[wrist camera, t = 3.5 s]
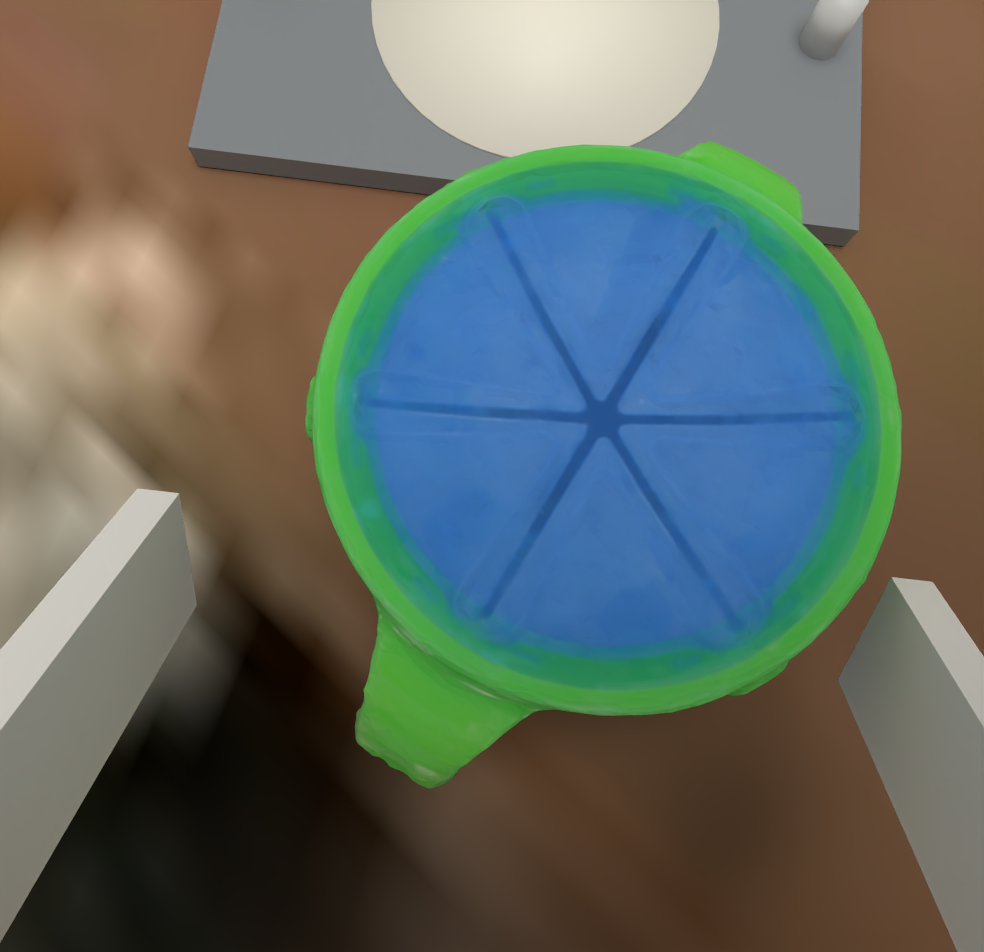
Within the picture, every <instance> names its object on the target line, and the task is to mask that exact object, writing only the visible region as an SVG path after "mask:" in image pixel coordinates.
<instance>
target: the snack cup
mask: <svg viewBox="0 0 984 952" xmlns="http://www.w3.org/2000/svg"><path fill="white" fill-rule="evenodd" d="M306 407H307V414H306V420H305V427H306V433H307V435H308V437H309V439H310V440H311V441H312V442H313V448H314V457H315V466H316V472H317V476H318V480H319V484H320V487H321V491H322V495H323V499H324V503H325V506H326V508H327V511H328V513H329V516H330V519H331V521H332V523H333V526H334V528H335V530H336V532H337V535H338V537H339V539H340V541H341V543H342V545H343V547H344V549H345V551H346V553H347V555H348V557H349V559H350V561H351V563H352V565H353V566H354V568H355V570H356V571H357V573H358V574H359V576H360V577H361V579H362V580H363V582H364V583H365V585H366V586H367V587H368V589H369V590H370V592H371V594H372V596H373V598H374V601H375V604H376V608H377V612H378V627H377V638H376V642H375V648H374V651H373V654H372V658H371V664H370V671H369V676H368V680H367V683H366V685H365V688H364V690H363V691H364V702H363V705H362V707H361V708H360V709H359V710H358V712H357V715H356V717H357V718H356V723H355V732H356V741H357V743H358V744H359V745H360V746H361V747H363V748H364V749H365V750H366V751H367V752H369V753H370V754H371V755H373V756H378V757H380V758H382V759H383V760H385V761H386V762H387V763H388V765H389V766H390V767H392V768H395V769H397V770H400V771H402V772H403V773H405V774H406V775H408V776H409V777H410V779H412V780H413V781H414V782H416V783H417V784H419V785H421V786H424V787H426V788H429V789H431V788H437V787H439V786H441V785H444V784H445V783H447V782H448V781H449V780H452V778H453V777H454V776H455V775H456V773H457V771H458V770H459V769H460V768H461V767H463V766H465V765H466V764H467V763H469V762H470V761H471V760H472V759H474V758H475V757H476V756H477V755H479V754H480V753H481V752H483V751H484V750H485V749H487V748H488V747H489V746H491V745H492V744H493V743H494V742H495V741H496V740H497V739H498V738H500V737H501V736H502V735H503V734H505V733H506V732H507V731H508V730H510V729H511V728H512V727H514V726H515V725H516V724H518V723H519V722H520V721H521V720H523V719H524V718H526V717H528V716H529V715H530V714H532V713H534V712H536V711H542V710H561V711H567V712H576V713H584V714H591V715H599V716H616V715H648V714H660V713H672V712H676V711H680V710H684V709H688V708H691V707H695V706H699V705H702V704H705V703H708V702H710V701H713V700H716V699H719V698H721V697H723V696H725V695H729V696H738V695H744V694H747V693H749V692H750V691H752V690H754V689H756V688H757V687H759V686H761V685H763V684H765V683H767V682H768V681H770V680H771V679H772V678H774V677H776V676H777V675H778V674H780V673H781V672H782V671H783V670H784V669H785V668H786V667H787V663H788V661H789V660H791V659H792V658H794V657H795V656H796V655H797V654H799V653H800V652H801V651H802V650H804V649H805V648H806V647H807V646H808V645H810V644H811V643H812V642H813V641H814V640H815V639H816V638H817V637H818V636H819V635H820V634H821V633H822V632H823V631H824V630H826V628H827V627H828V626H829V625H830V624H831V623H832V621H833V620H834V619H835V618H836V617H837V616H838V615H839V613H840V612H841V611H842V610H843V609H844V608H845V607H846V606H847V605H848V603H849V602H850V600H851V599H852V597H853V596H854V594H855V593H856V592H857V590H858V589H859V588H860V587H861V585H862V584H863V583H864V582H865V581H866V578H867V575H868V573H869V571H870V569H871V568H872V566H873V564H874V561H875V559H876V556H877V554H878V551H879V549H880V547H881V544H882V542H883V539H884V537H885V534H886V531H887V529H888V526H889V523H890V519H891V515H892V511H893V507H894V503H895V498H896V492H897V487H898V482H899V477H900V469H901V430H902V421H901V417H902V412H901V410H900V408H899V402H898V396H897V388H896V383H895V380H894V377H893V372H892V367H891V363H890V359H889V356H888V354H887V351H886V348H885V345H884V342H883V339H882V336H881V334H880V333H879V331H878V329H877V326H876V322H875V319H874V317H873V315H872V313H871V311H870V309H869V308H868V306H867V304H866V303H865V301H864V299H863V298H862V296H861V294H860V293H859V291H858V289H857V288H856V286H855V285H854V283H853V281H852V280H851V279H850V277H849V276H848V275H847V273H846V272H845V271H844V269H843V268H842V267H841V265H840V264H839V263H838V261H837V260H836V259H835V258H834V256H833V255H832V254H831V253H830V252H829V251H828V249H827V248H826V247H825V246H824V245H823V244H822V242H820V241H819V240H818V239H817V238H816V237H815V236H814V235H813V234H812V233H811V232H810V231H809V230H808V229H807V228H806V227H805V226H804V225H803V224H802V202H801V195H800V194H799V190H797V187H796V186H794V185H793V184H792V183H790V182H789V181H788V180H787V179H785V178H784V177H782V176H780V175H779V174H777V173H775V172H774V171H772V170H771V169H769V168H767V167H766V166H764V165H762V164H760V163H759V162H757V161H755V160H753V159H751V158H749V157H747V156H745V155H743V154H741V153H739V152H737V151H735V150H733V149H730V148H728V147H725V146H723V145H720V144H718V143H715V142H712V141H708V142H706V143H701V144H698V145H696V146H694V147H693V148H691V149H689V150H687V151H685V152H683V153H682V154H680V155H678V156H674V155H671V154H667V153H663V152H658V151H654V150H648V149H641V148H635V147H629V146H615V145H584V144H583V145H573V146H563V147H556V148H550V149H543V150H536V151H532V152H528V153H524V154H521V155H518V156H514V157H510V158H505V159H501V160H499V161H497V162H495V163H492V164H489V165H486V166H483V167H481V168H478V169H473V170H471V171H468V172H466V173H465V174H463V175H461V176H460V177H458V178H456V179H455V180H454V181H452V182H451V183H448V184H446V185H445V186H444V187H443V188H441V189H440V190H438V191H436V192H435V193H433V194H432V195H430V196H428V197H427V198H425V199H424V200H423V201H421V202H420V203H418V204H417V205H416V206H415V207H414V208H412V209H411V210H410V211H409V212H408V213H407V214H405V215H404V216H403V217H402V218H401V219H400V220H399V221H397V222H396V223H395V224H394V225H393V226H392V227H391V228H390V229H388V230H387V231H386V233H385V234H384V235H383V236H382V237H381V238H380V240H379V241H378V242H377V243H376V245H375V246H374V247H373V248H372V249H371V250H370V252H369V253H368V254H367V255H366V256H365V258H364V259H363V261H362V262H361V263H360V265H359V267H358V268H357V270H356V272H355V274H354V275H353V277H352V279H351V280H350V282H349V283H348V285H347V286H346V288H345V290H344V292H343V294H342V296H341V298H340V301H339V303H338V305H337V308H336V310H335V312H334V314H333V316H332V319H331V321H330V324H329V327H328V329H327V333H326V336H325V339H324V342H323V346H322V350H321V354H320V358H319V363H318V367H317V373H316V376H315V377H313V379H312V380H311V382H310V389H309V392H308V395H307V402H306Z"/></svg>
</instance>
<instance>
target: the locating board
mask: <svg viewBox="0 0 984 952" xmlns="http://www.w3.org/2000/svg"><path fill="white" fill-rule="evenodd" d="M868 2H869V0H222V5H221V9H220V13H219V17H218V22H217V26H216V30H215V34H214V39H213V43H212V47H211V51H210V55H209V60H208V64H207V68H206V72H205V77H204V81H203V85H202V89H201V94H200V98H199V102H198V106H197V110H196V115H195V119H194V123H193V127H192V132H191V136H190V140H189V144H188V148H189V150H190V151H191V153H192V155H193V157H194V158H195V160H196V162H197V163H198V165H199V166H202V167H210V168H218V169H226V170H234V171H243V172H251V173H259V174H267V175H275V176H283V177H291V178H299V179H307V180H315V181H323V182H331V183H339V184H347V185H355V186H363V187H371V188H379V189H387V190H395V191H403V192H411V193H419V194H427V195H432V194H433V193H435V192H436V191H438V190H440V189H441V188H443V187H444V186H445V185H446V184H448V183H451V182H452V181H454V180H455V179H456V178H458V177H460V176H461V175H463V174H465V173H466V172H468V171H471V170H473V169H478V168H481V167H483V166H486V165H489V164H492V163H495V162H497V161H499V160H501V159H505V158H510V157H514V156H518V155H521V154H524V153H528V152H532V151H536V150H543V149H550V148H556V147H563V146H573V145H583V144H584V145H615V146H629V147H635V148H641V149H648V150H654V151H658V152H663V153H667V154H671V155H674V156H678V155H680V154H682V153H683V152H685V151H687V150H689V149H691V148H693V147H694V146H696V145H698V144H701V143H706V142H708V141H712V142H715V143H718V144H720V145H723V146H725V147H728V148H730V149H733V150H735V151H737V152H739V153H741V154H743V155H745V156H747V157H749V158H751V159H753V160H755V161H757V162H759V163H760V164H762V165H764V166H766V167H767V168H769V169H771V170H772V171H774V172H775V173H777V174H779V175H780V176H782V177H784V178H785V179H787V180H788V181H789V182H790V183H792V184H793V185H794V186H796V187H797V190H799V194H800V195H801V202H802V224H803V225H804V226H805V227H806V228H807V229H808V230H809V231H810V232H811V233H812V234H813V235H814V236H815V237H816V238H817V239H818V240H819V241H820V242H822V244H829V245H837V246H844V245H845V244H846V243H847V242H848V241H849V240H850V239H851V238H852V237H853V236H854V235H855V234H856V233H857V232H858V231H859V203H860V142H861V81H862V20H863V10H864V9H865V7H866V5H867V4H868Z"/></svg>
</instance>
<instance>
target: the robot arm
mask: <svg viewBox="0 0 984 952" xmlns="http://www.w3.org/2000/svg"><path fill="white" fill-rule="evenodd" d="M196 606H197V603H196V597H195V590H194V584H193V578H192V571H191V565H190V559H189V552H188V546H187V540H186V533H185V527H184V521H183V514H182V508H181V502H180V496H179V493H171V492H163V491H154V490H146V489H137V490H136V491H135V492H134V493H133V494H132V495H131V497H130V498H129V499H128V500H127V501H126V503H125V504H124V505H123V506H122V507H121V508H120V510H119V511H118V512H117V513H116V514H115V516H114V517H113V518H112V519H111V520H110V521H109V523H108V524H107V525H106V526H105V527H104V528H103V530H102V531H101V532H100V533H99V534H98V536H97V537H96V538H95V539H94V540H93V541H92V543H91V544H90V545H89V546H88V547H87V548H86V550H85V551H84V552H83V553H82V554H81V556H80V557H79V558H78V559H77V560H76V561H75V563H74V564H73V565H72V566H71V567H70V568H69V570H68V571H67V572H66V573H65V574H64V576H63V577H62V578H61V579H60V580H59V581H58V583H57V584H56V585H55V586H54V587H53V588H52V590H51V591H50V592H49V593H48V594H47V596H46V597H45V598H44V599H43V600H42V601H41V603H40V604H39V605H38V606H37V607H36V608H35V610H34V611H33V612H32V613H31V614H30V616H29V617H28V618H27V619H26V620H25V621H24V623H23V624H22V625H21V626H20V627H19V628H18V630H17V631H16V632H15V633H14V634H13V636H12V637H11V638H10V639H9V640H8V641H7V643H6V644H5V645H4V646H3V647H2V648H1V650H0V942H1V940H2V939H3V937H4V935H5V934H6V932H7V930H8V928H9V927H10V925H11V923H12V921H13V920H14V918H15V916H16V915H17V913H18V911H19V909H20V908H21V906H22V904H23V903H24V901H25V899H26V897H27V896H28V894H29V892H30V891H31V889H32V887H33V885H34V884H35V882H36V880H37V879H38V877H39V875H40V873H41V872H42V870H43V868H44V867H45V865H46V863H47V861H48V860H49V858H50V856H51V855H52V853H53V851H54V849H55V848H56V846H57V844H58V843H59V841H60V839H61V837H62V836H63V834H64V832H65V831H66V829H67V827H68V825H69V824H70V822H71V820H72V819H73V817H74V815H75V813H76V812H77V810H78V808H79V807H80V805H81V803H82V801H83V800H84V798H85V796H86V795H87V793H88V791H89V789H90V788H91V786H92V784H93V783H94V781H95V779H96V777H97V776H98V774H99V772H100V771H101V769H102V767H103V765H104V764H105V762H106V760H107V759H108V757H109V755H110V753H111V752H112V750H113V748H114V747H115V745H116V743H117V741H118V740H119V738H120V736H121V735H122V733H123V731H124V729H125V728H126V726H127V724H128V722H129V721H130V719H131V717H132V716H133V714H134V712H135V710H136V709H137V707H138V705H139V704H140V702H141V700H142V698H143V697H144V695H145V693H146V692H147V690H148V688H149V686H150V685H151V683H152V681H153V680H154V678H155V676H156V674H157V673H158V671H159V669H160V668H161V666H162V664H163V662H164V661H165V659H166V657H167V656H168V654H169V652H170V650H171V649H172V647H173V645H174V644H175V642H176V640H177V638H178V637H179V635H180V633H181V632H182V630H183V628H184V626H185V625H186V623H187V621H188V620H189V618H190V616H191V614H192V613H193V611H194V609H195V608H196ZM838 682H839V684H840V686H841V689H842V691H843V693H844V695H845V698H846V700H847V702H848V705H849V707H850V709H851V711H852V714H853V716H854V718H855V720H856V723H857V725H858V727H859V730H860V732H861V734H862V736H863V739H864V741H865V743H866V745H867V748H868V750H869V752H870V755H871V757H872V759H873V761H874V764H875V766H876V768H877V770H878V773H879V775H880V777H881V780H882V782H883V784H884V786H885V789H886V791H887V793H888V795H889V798H890V800H891V802H892V805H893V807H894V809H895V811H896V814H897V816H898V818H899V820H900V823H901V825H902V827H903V830H904V832H905V834H906V836H907V839H908V841H909V843H910V845H911V848H912V850H913V852H914V855H915V857H916V859H917V861H918V864H919V866H920V868H921V870H922V873H923V875H924V877H925V880H926V882H927V884H928V886H929V889H930V891H931V893H932V895H933V898H934V900H935V902H936V905H937V907H938V909H939V911H940V914H941V916H942V918H943V920H944V923H945V925H946V927H947V930H948V932H949V934H950V936H951V939H952V941H953V943H954V945H955V948H956V950H957V952H984V656H983V655H982V654H981V652H980V651H979V649H978V648H977V646H976V645H975V643H974V642H973V640H972V639H971V637H970V636H969V634H968V633H967V632H966V630H965V629H964V627H963V626H962V624H961V623H960V621H959V620H958V618H957V617H956V615H955V614H954V612H953V611H952V610H951V608H950V607H949V605H948V604H947V602H946V601H945V599H944V598H943V596H942V595H941V593H940V592H939V590H938V589H937V588H936V586H935V585H934V583H933V582H929V581H920V580H912V579H903V578H895V577H891V579H890V581H889V583H888V584H887V586H886V588H885V590H884V592H883V594H882V596H881V598H880V600H879V602H878V604H877V606H876V608H875V609H874V611H873V613H872V615H871V617H870V619H869V621H868V623H867V625H866V627H865V629H864V631H863V633H862V634H861V636H860V638H859V640H858V642H857V644H856V646H855V648H854V650H853V652H852V654H851V656H850V658H849V659H848V661H847V663H846V665H845V667H844V669H843V671H842V673H841V675H840V677H839V679H838Z"/></svg>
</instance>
